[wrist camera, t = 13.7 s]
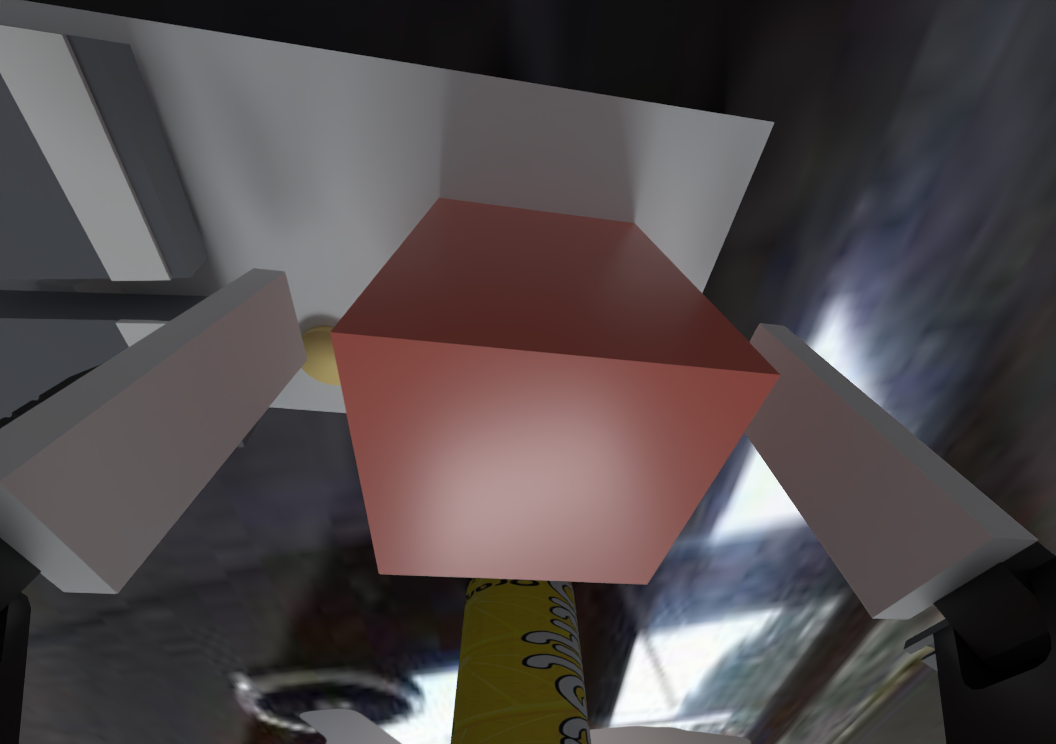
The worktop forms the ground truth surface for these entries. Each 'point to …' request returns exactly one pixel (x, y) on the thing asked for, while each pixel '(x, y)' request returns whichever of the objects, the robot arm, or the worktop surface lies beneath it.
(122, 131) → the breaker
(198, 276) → the panel
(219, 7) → the worktop surface
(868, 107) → the worktop surface
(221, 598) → the worktop surface
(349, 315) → the red rectangular block
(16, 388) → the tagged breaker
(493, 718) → the beverage can
